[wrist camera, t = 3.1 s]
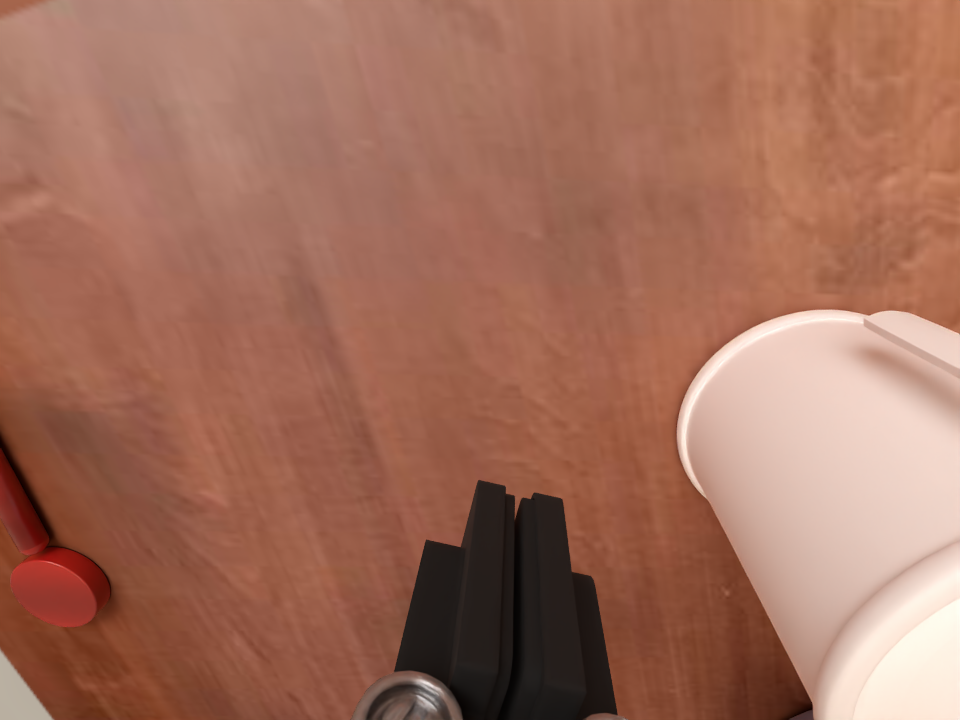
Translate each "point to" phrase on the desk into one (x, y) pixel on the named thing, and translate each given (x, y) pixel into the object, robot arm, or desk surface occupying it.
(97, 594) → the red spoon
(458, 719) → the robot arm
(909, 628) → the smoke grenade
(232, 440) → the desk surface
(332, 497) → the desk surface
